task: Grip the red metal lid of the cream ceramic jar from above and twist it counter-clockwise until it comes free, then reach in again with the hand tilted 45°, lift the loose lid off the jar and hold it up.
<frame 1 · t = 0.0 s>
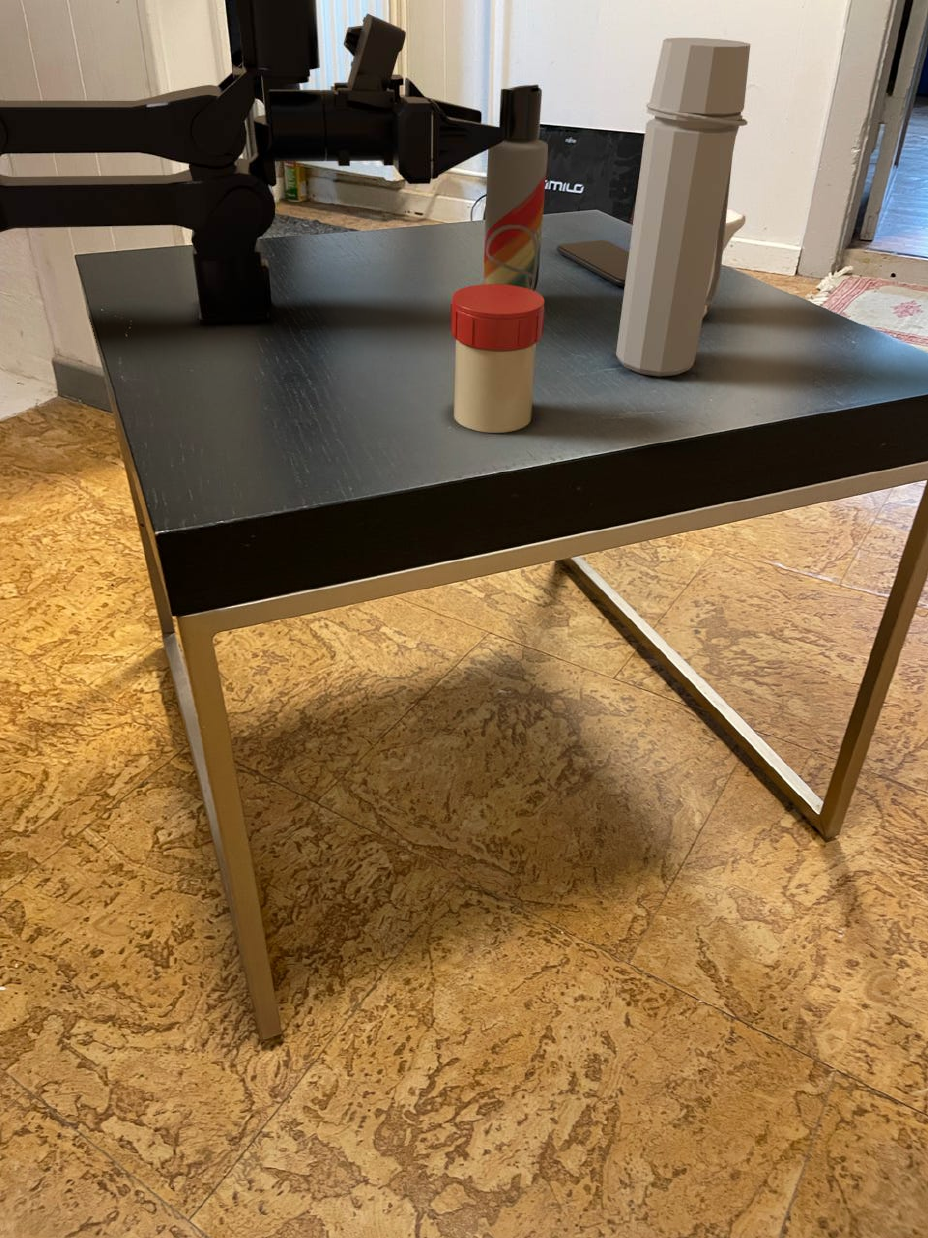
hand: (491, 125, 87), 17 cm above the table, tool horizontal, fingers open, 9 cm apart
lotion bottle: (508, 304, 98), on the table
jar: (492, 416, 75), on the table
smartphone: (611, 267, 109), on the table
jar lid: (498, 303, 70), point 9 cm above the table, screwed on, not yet turned
water bottle: (662, 365, 85), on the table
cup: (680, 314, 97), on the table
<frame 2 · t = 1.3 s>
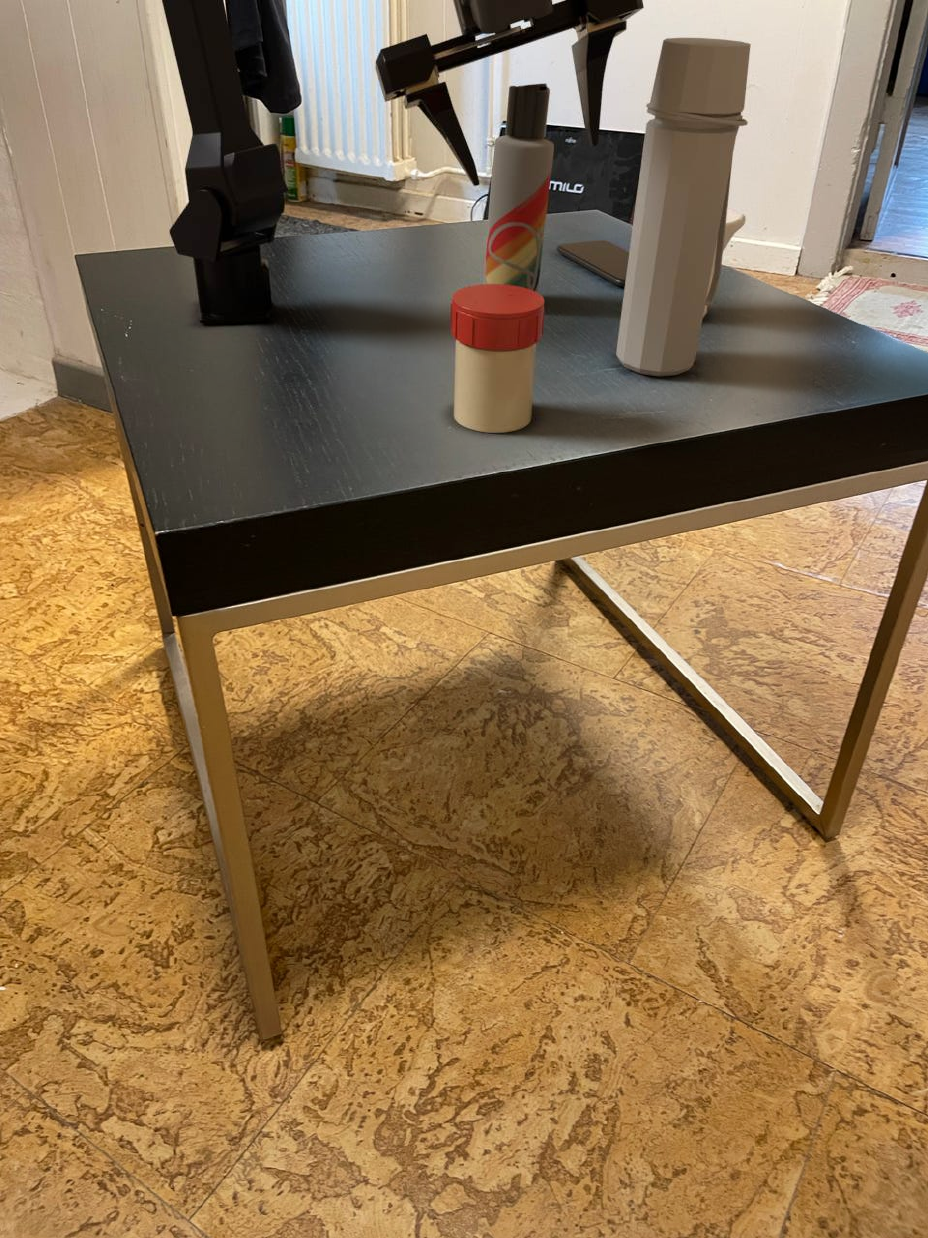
hand: (535, 165, 70), 17 cm above the table, tool tilted 20°, fingers open, 9 cm apart
nothing on the table moved.
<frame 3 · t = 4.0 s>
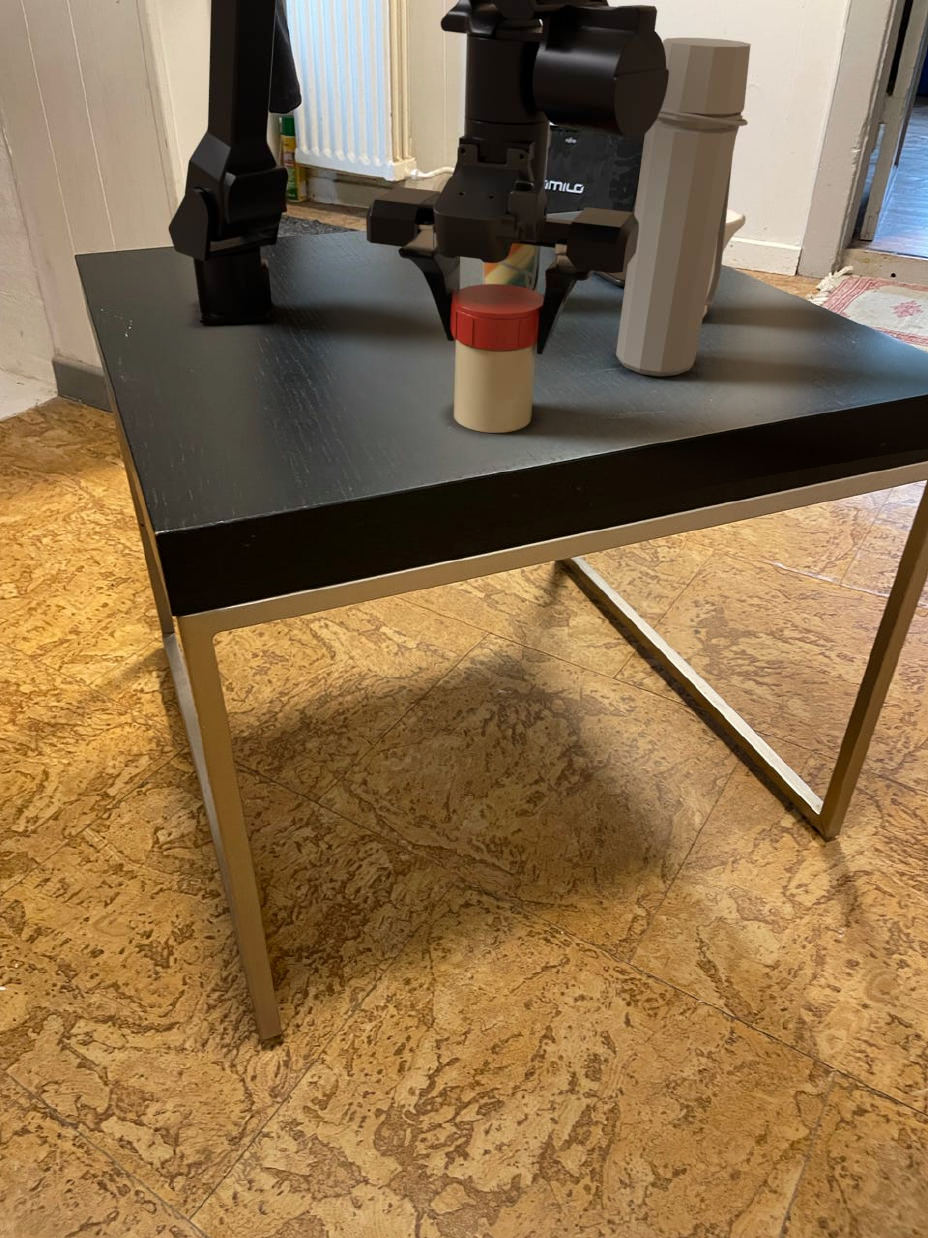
hand: (495, 346, 71), 6 cm above the table, tool pointing down, fingers closed on jar lid, 7 cm apart
jar lid: (498, 303, 70), point 9 cm above the table, screwed on, not yet turned, touching gripper
everything else where it was.
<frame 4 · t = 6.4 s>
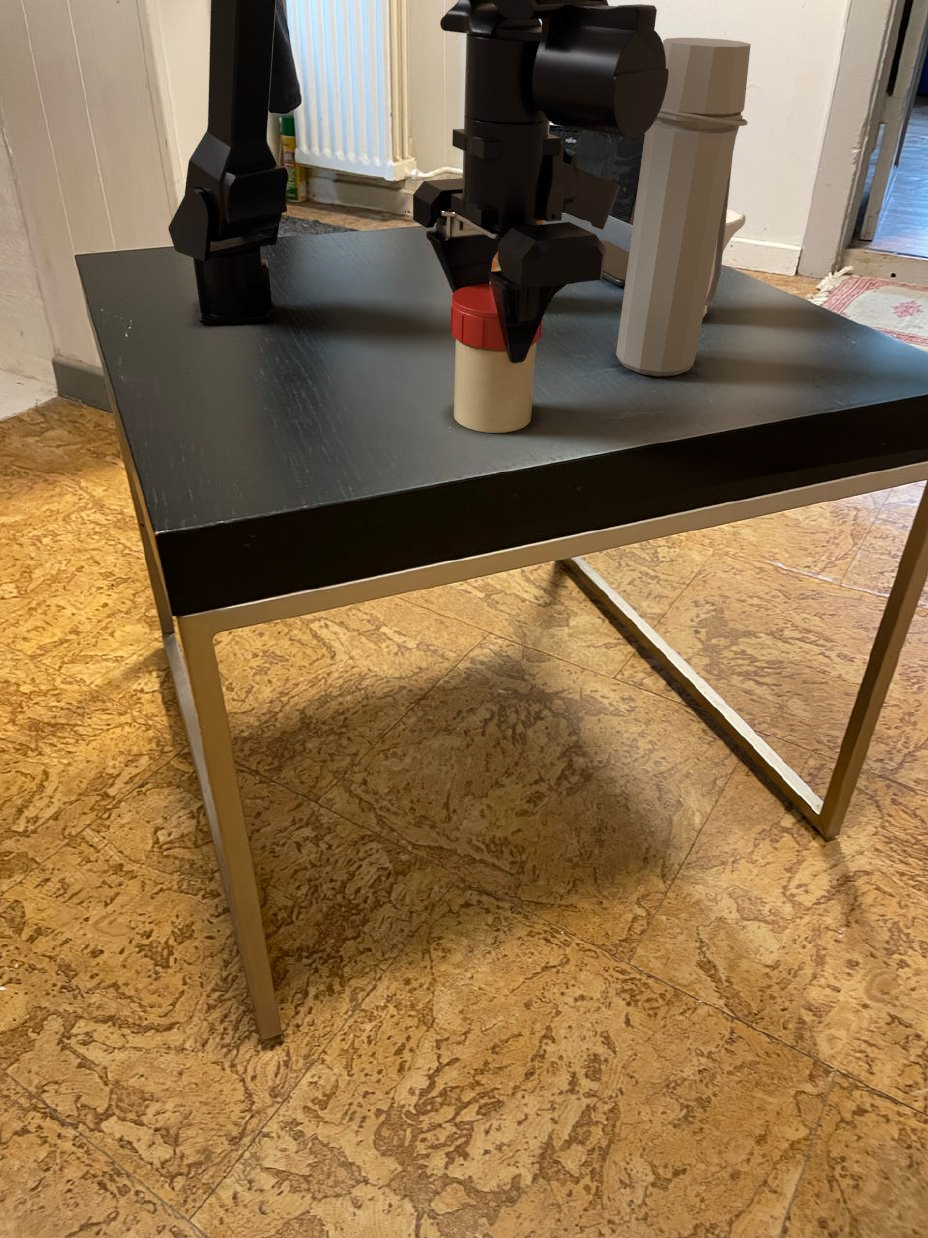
hand: (495, 345, 71), 6 cm above the table, tool pointing down, fingers closed on jar lid, 7 cm apart
jar lid: (497, 302, 70), point 9 cm above the table, off its thread, touching gripper
everything else where it was.
when the fingers open (6 cm above the table, at t = 7.3 s): jar lid stays where it is, resting on jar.
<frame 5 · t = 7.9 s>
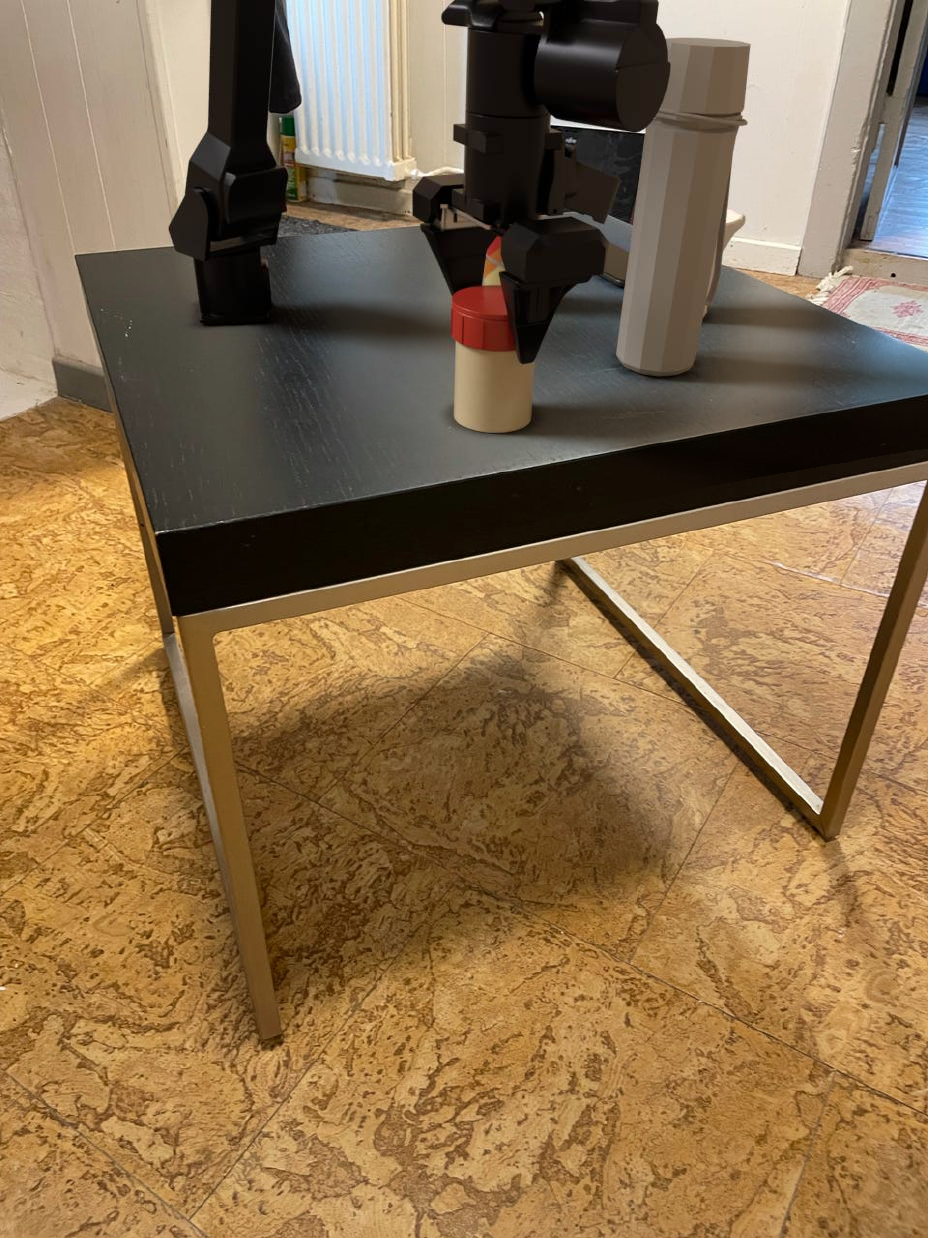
hand: (496, 341, 71), 6 cm above the table, tool pointing down, fingers open, 9 cm apart
jar: (492, 416, 75), on the table, touching jar lid
jar lid: (497, 304, 70), point 9 cm above the table, off its thread, touching jar
everything else where it was.
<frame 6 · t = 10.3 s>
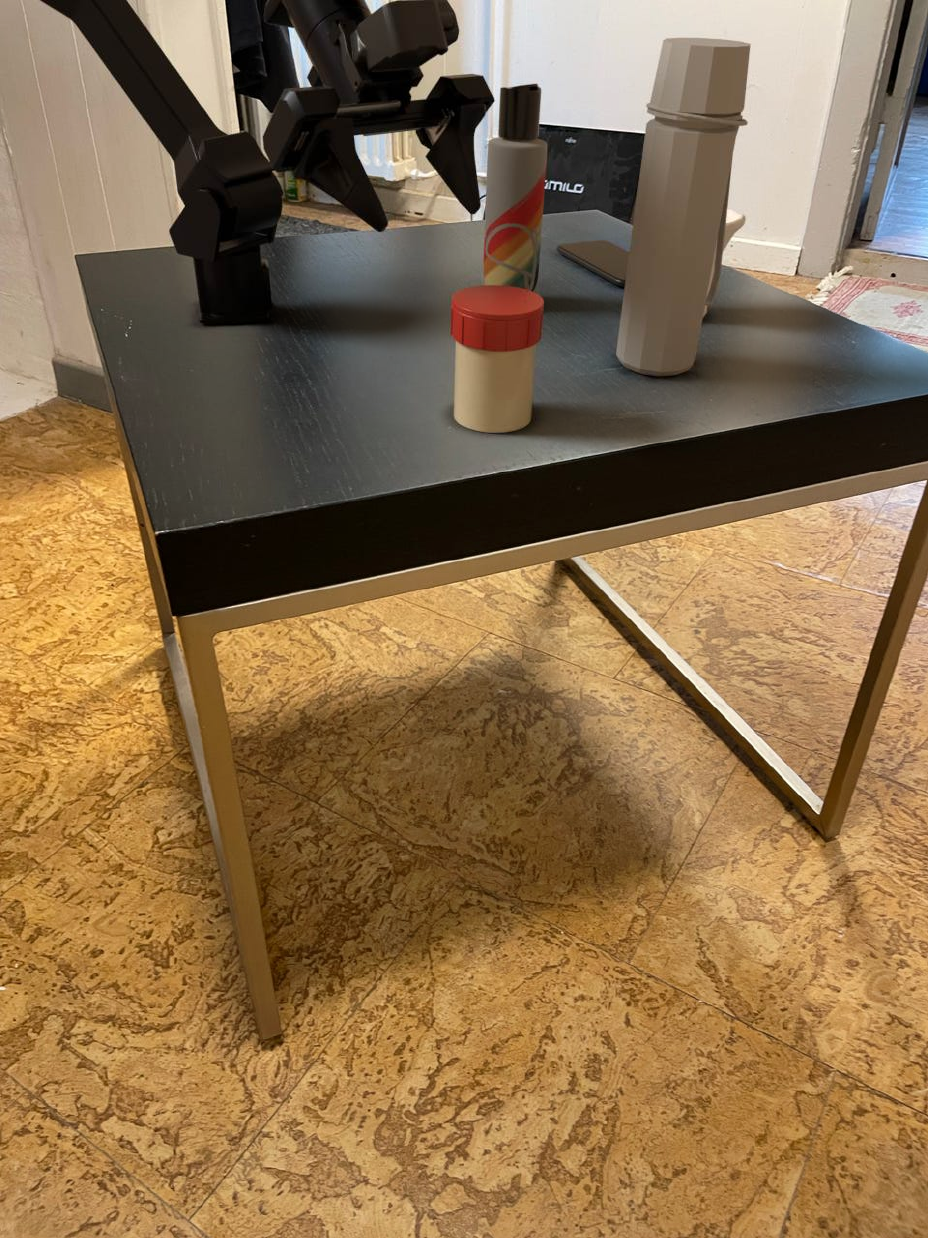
hand: (431, 219, 71), 13 cm above the table, tool tilted 45°, fingers open, 9 cm apart
nothing on the table moved.
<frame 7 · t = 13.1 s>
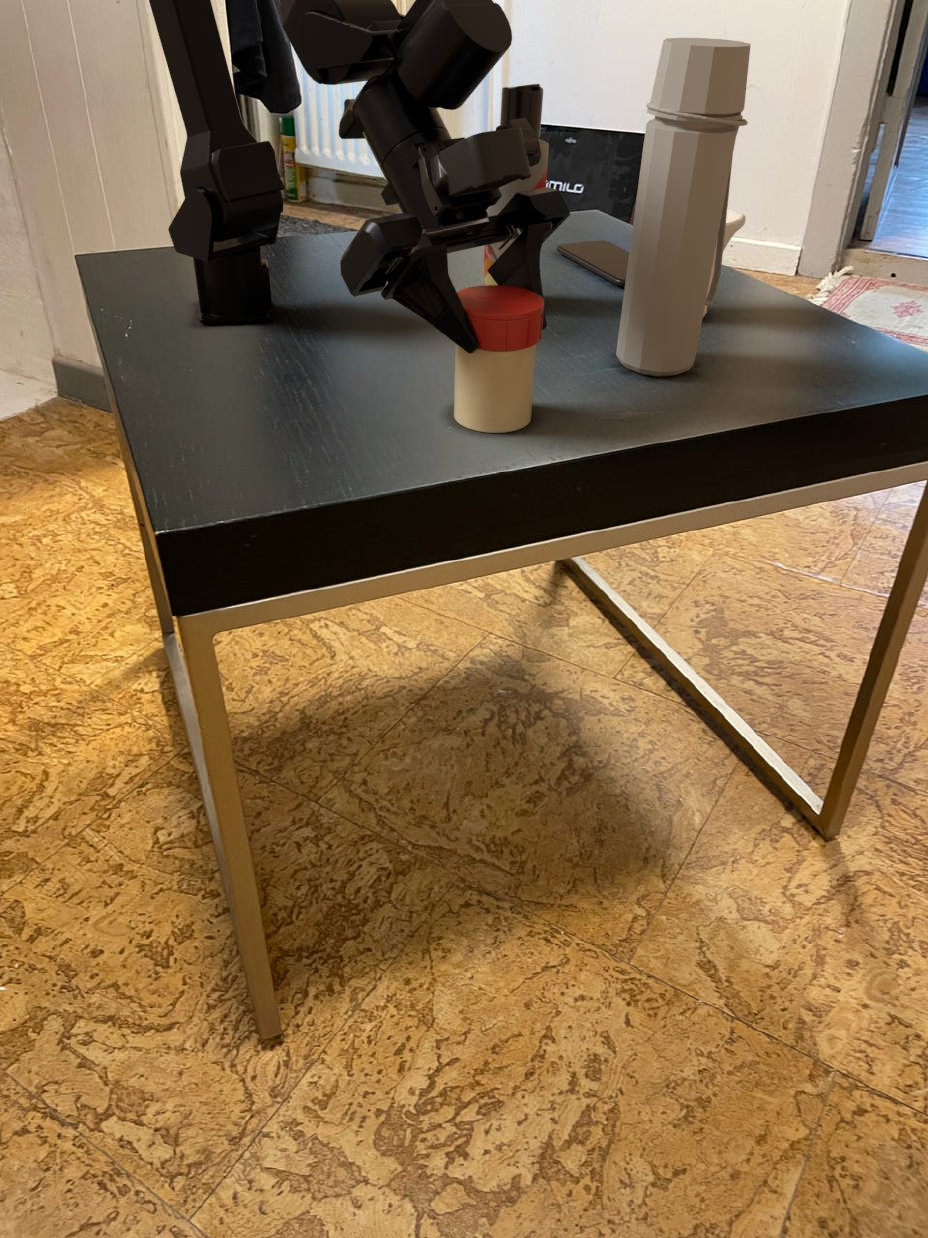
hand: (509, 340, 70), 7 cm above the table, tool tilted 45°, fingers closed on jar lid, 6 cm apart
jar lid: (497, 304, 70), point 9 cm above the table, off its thread, touching gripper, jar
everything else where it was.
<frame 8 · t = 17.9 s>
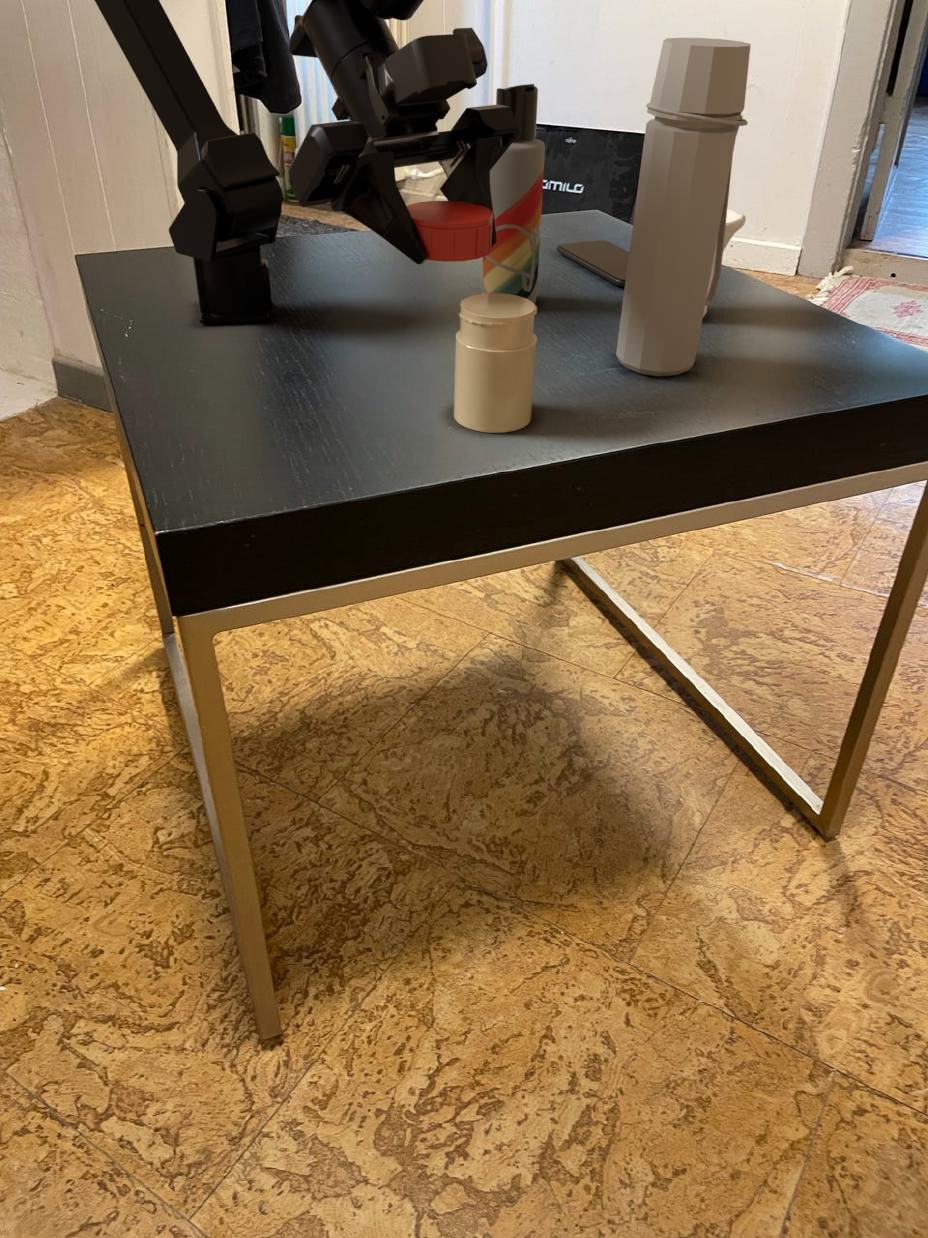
hand: (458, 253, 71), 12 cm above the table, tool tilted 45°, fingers closed on jar lid, 6 cm apart
jar: (492, 416, 75), on the table
jar lid: (447, 216, 70), point 14 cm above the table, off its thread, touching gripper
everything else where it was.
at the end: jar lid turned 0.35 turns (no longer on its thread); the gripper is holding jar lid; jar lid point 13.9 cm above the table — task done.
